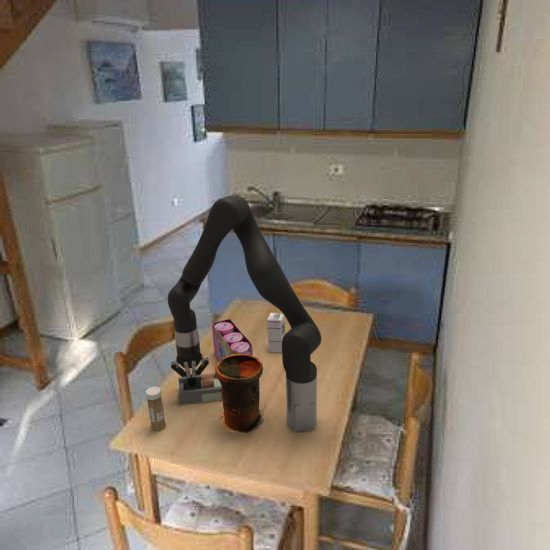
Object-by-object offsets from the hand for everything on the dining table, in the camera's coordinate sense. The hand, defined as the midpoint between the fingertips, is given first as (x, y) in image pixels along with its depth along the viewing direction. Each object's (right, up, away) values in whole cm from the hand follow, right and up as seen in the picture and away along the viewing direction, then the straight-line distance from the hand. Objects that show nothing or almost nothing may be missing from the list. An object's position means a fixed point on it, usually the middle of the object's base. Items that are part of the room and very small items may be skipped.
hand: (192, 385), depth 166 cm
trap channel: (+7, -3, +3) cm, 8 cm away
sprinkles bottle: (-8, -10, -13) cm, 18 cm away
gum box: (+12, +3, +18) cm, 22 cm away
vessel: (+18, -9, -11) cm, 22 cm away
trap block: (+5, 0, +1) cm, 5 cm away
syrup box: (+29, +8, +28) cm, 40 cm away
